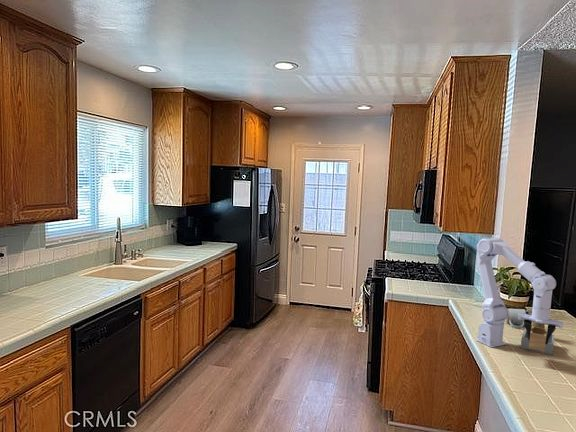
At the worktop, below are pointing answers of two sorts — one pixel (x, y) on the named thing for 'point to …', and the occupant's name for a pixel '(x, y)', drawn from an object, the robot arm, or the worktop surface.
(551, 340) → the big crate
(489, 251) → the robot arm
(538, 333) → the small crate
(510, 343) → the worktop surface
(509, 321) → the ceramic mug
